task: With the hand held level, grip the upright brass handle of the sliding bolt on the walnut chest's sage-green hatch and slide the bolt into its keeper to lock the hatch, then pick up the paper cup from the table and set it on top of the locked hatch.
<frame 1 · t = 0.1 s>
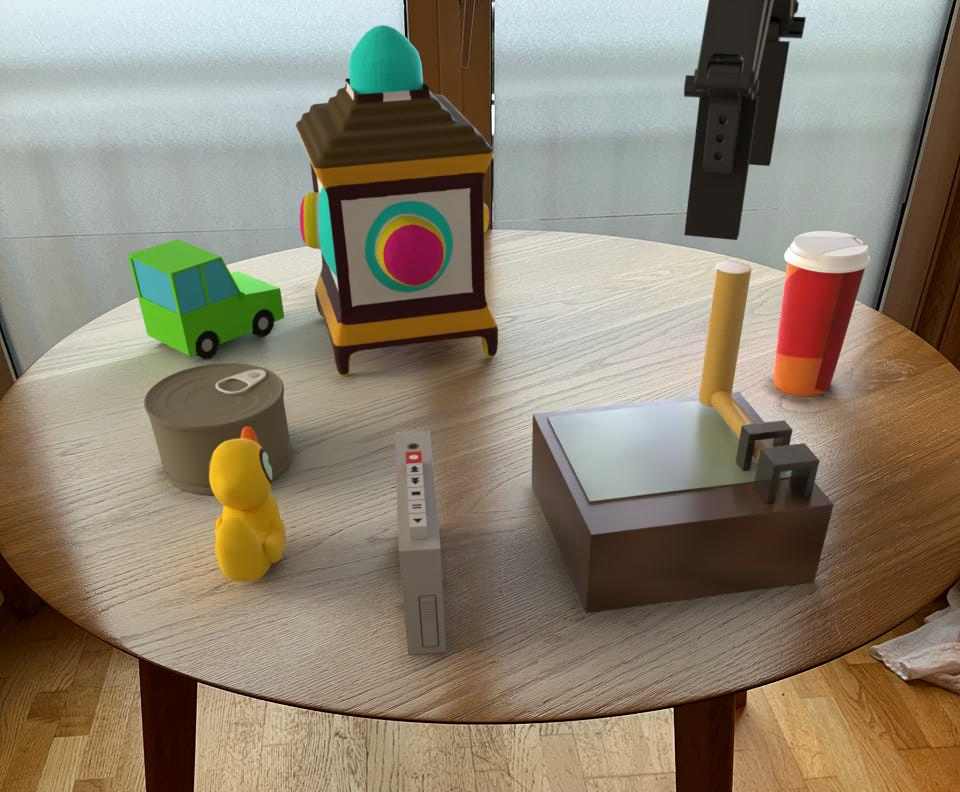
hand: (730, 196, 56), 28 cm above the table, tool pointing down, fingers open, 13 cm apart
duckling: (255, 563, 79), on the table
paper cup: (800, 385, 101), on the table
cassette player: (423, 588, 76), on the table
can: (229, 463, 91), on the table
bolt: (747, 363, 75), point 13 cm above the table, slide at 0.0 cm
decorative lantern: (404, 338, 111), on the table
chest: (663, 530, 81), on the table
toy car: (221, 338, 112), on the table
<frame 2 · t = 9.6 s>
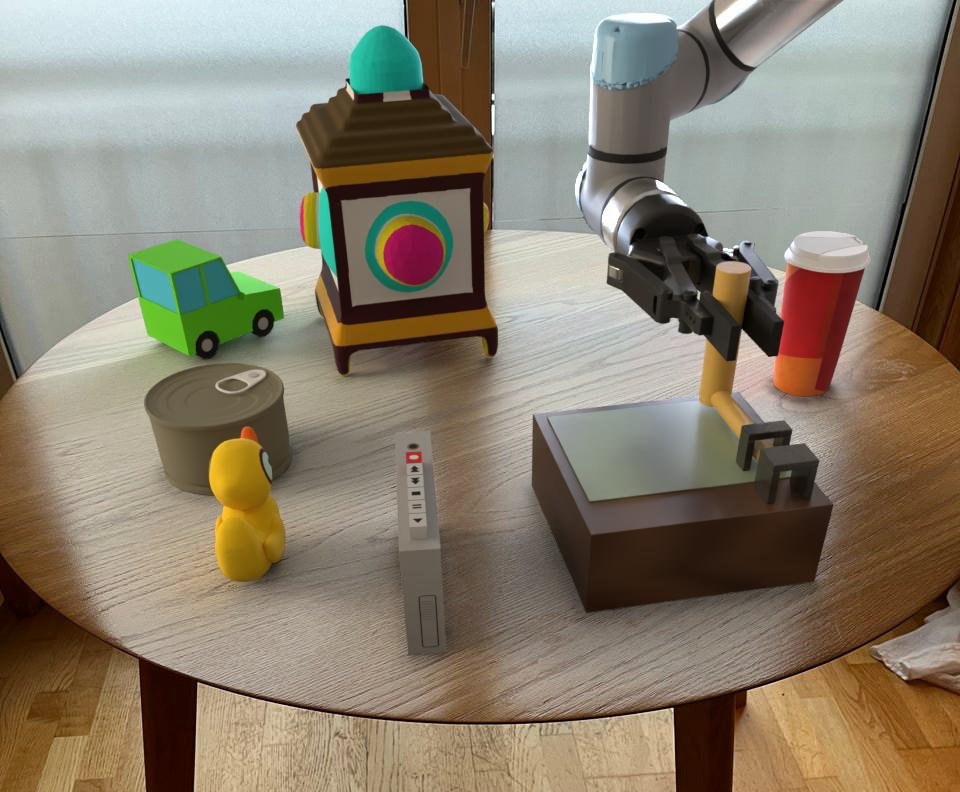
hand: (754, 341, 73), 15 cm above the table, tool horizontal, fingers closed on bolt, 3 cm apart
bolt: (747, 363, 75), point 13 cm above the table, slide at 0.0 cm, touching gripper
everything else where it was.
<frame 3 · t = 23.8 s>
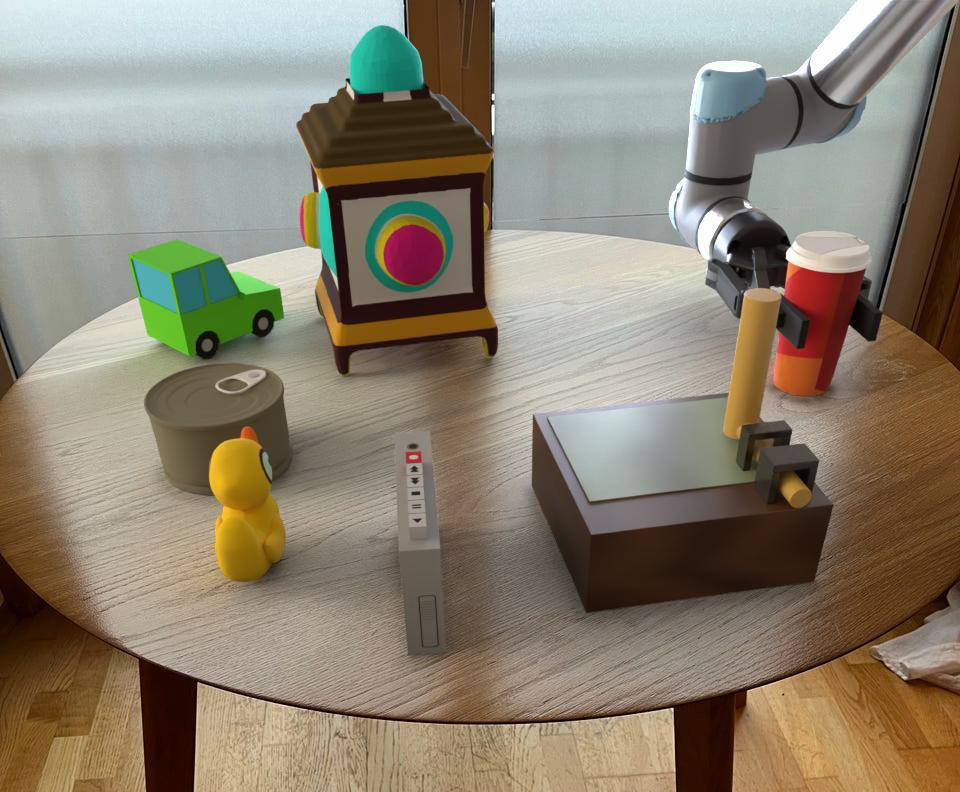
hand: (839, 330, 92), 8 cm above the table, tool horizontal, fingers closed on paper cup, 6 cm apart
paper cup: (800, 385, 101), on the table, touching gripper
bolt: (777, 396, 71), point 13 cm above the table, slide at 5.5 cm
everything else where it was.
when the fingers open (15 cm above the table, at t = 35.7 s): paper cup stays where it is, resting on chest.
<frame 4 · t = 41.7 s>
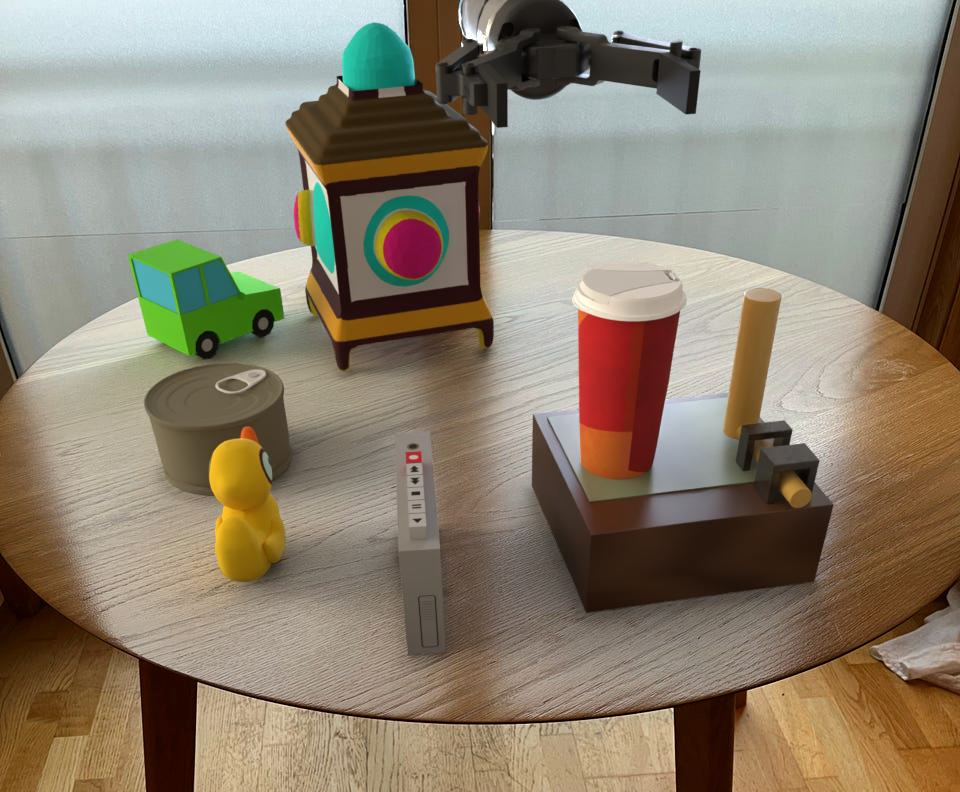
hand: (599, 99, 68), 30 cm above the table, tool horizontal, fingers open, 13 cm apart
paper cup: (615, 462, 76), point 7 cm above the table, touching chest
decorative lantern: (398, 332, 112), on the table
everything else where it was.
at the end: bolt slide at 5.5 cm; paper cup 0.0 cm from the target spot on the chest, point 6.9 cm above the chest's base; paper cup tilted 0° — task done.
